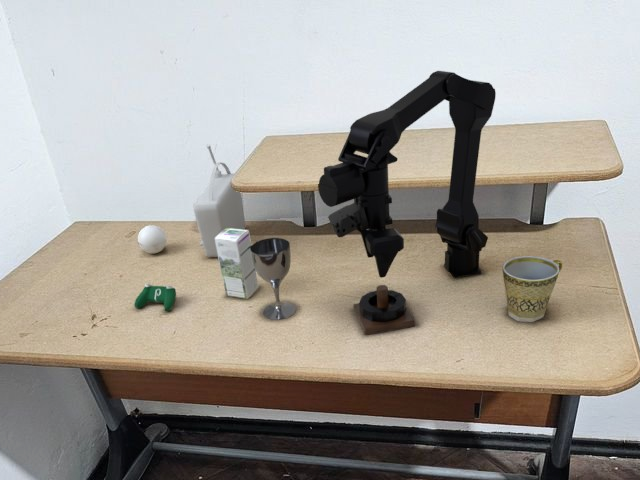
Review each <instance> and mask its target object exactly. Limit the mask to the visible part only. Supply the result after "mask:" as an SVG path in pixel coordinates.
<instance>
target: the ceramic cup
mask: <svg viewBox="0 0 640 480" xmlns="http://www.w3.org/2000/svg"><path fill="white" fill-rule="evenodd" d="M562 268H563V262H562V261H561V260H559V259H554V260H551V259H548V258H547V257H542V256H537V255H535V256H534V255H522V256H515V257H512V258H510V259H508V260H507V261H505V262H504V263H503V265H502V276H503V285H504V289H505V295H506V304H507V312H508V316H509V317H510V318H512V319H513V320H515V321H517V322H521V323H522V322H523V323H534V322H537V321H539V320H541V319H543V318H544V316H545V313H546V311H547V308H548V304H549V302H550V299H551V295H552V293H553V291H554V289H555V286H556V283H557V280H558V277H559V273H560V272H561V270H562Z"/></svg>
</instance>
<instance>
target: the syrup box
mask: <svg viewBox="0 0 640 480" xmlns="http://www.w3.org/2000/svg"><path fill="white" fill-rule="evenodd" d="M215 244H216V248H217V253H218V257H217V258H218V262H219V267H220V272H221V277H222V283H223V287H224V291H225V296H226V297H231V298H235V299H236V298H237V299H244V300H248V299H249V298H251V297H252V296H253V295H254V293H255V292H256V291H257V290H259V287H260V286H259V281H258V276H257V275H258V274H257V272H256V269H255V267H254V264H253V261H252V257H251V251H250V248H251V246H252V245H253V244H252V240H251V234H250V230H249V229H245V230H242V229H231V228H227V229H225V230H223V231H222V232H221V233H219V234H218V235H217V236H216V237H215Z"/></svg>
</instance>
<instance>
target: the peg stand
mask: <svg viewBox="0 0 640 480" xmlns="http://www.w3.org/2000/svg"><path fill="white" fill-rule="evenodd" d="M388 290H389V287H388V285H386V284H380V285H377V286H376V291H377V304H375V305H374V307H376V308H386V307H391V306H392V305H391V304H388ZM352 305H353V312H354V314H355V316H356V319H357V321H358V323H359V324H360V327H361V329H362V330H363V334H364V335H365V336H367V335H373V334H379V333H384V332H385V333H386V332H390V331H396V330H400V329H401V330H402V329H408V328H412V327H415V326H416V319H415V318H414V316H413V314H412V313H411V311H410V309H409V308H408V306H407V305H406V311H405V314H404V315H403V316H401V317H400V318H398V319H397V320H393V321H388V322H374V321H370V320H368V319H365V318H363V316H362V315H361V313H360V308H359V302H358V303H353V304H352Z"/></svg>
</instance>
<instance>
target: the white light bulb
mask: <svg viewBox="0 0 640 480" xmlns="http://www.w3.org/2000/svg"><path fill="white" fill-rule="evenodd" d="M166 235H167V234H166V232H165V231H164V230H163V228H161V227H160V226H158V225H155V224H154V225H153V224H148V225H146V226H144V227H143V228H142V229H140V231H139V233H138V236H137V244H138V245H139V247H140V249H142V250H143V251H144V252H145V253H148V254H158V253H160V252H162V251H163V250H164V249H165V247H166V245H167V240H168V239H167V236H166ZM133 241H135V239H132V240H131V242H133ZM128 242H129V243H130V240H127V243H128Z"/></svg>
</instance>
